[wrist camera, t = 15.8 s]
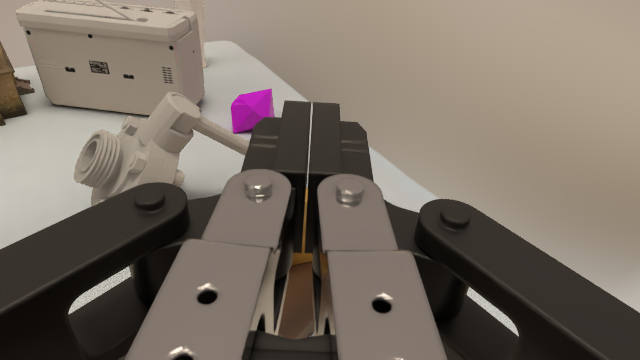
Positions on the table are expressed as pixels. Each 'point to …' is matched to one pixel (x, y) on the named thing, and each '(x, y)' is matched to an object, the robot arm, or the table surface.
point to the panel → (298, 304)
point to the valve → (146, 148)
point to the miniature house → (11, 90)
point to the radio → (113, 53)
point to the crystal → (251, 109)
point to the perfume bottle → (194, 3)
